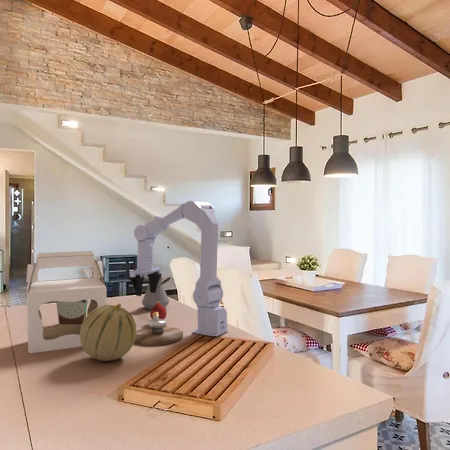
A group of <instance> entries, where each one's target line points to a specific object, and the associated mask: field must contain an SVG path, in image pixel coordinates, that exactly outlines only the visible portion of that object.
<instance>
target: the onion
mask: <svg viewBox="0 0 450 450" xmlns="http://www.w3.org/2000/svg"><path fill="white" fill-rule="evenodd" d="M160 303H161V302H160V301H158V302H157V304H156V305H154V306H153V308H152V309H151V310H150V312H149V313H150V314H149V315H150V318H151V320H153V312H159V319H165V320H166V317H167V309H166V307H164V306H163V305H161V304H160Z"/></svg>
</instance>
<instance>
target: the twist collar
mask: <svg viewBox="0 0 450 450" xmlns="http://www.w3.org/2000/svg"><path fill="white" fill-rule="evenodd" d="M167 324H168V323H167V320H166V318H165V319H159V312H153V320H152V319H149V320H148V328H164V327H168V326H167Z"/></svg>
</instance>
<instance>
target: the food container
mask: <svg viewBox="0 0 450 450" xmlns="http://www.w3.org/2000/svg"><path fill="white" fill-rule="evenodd" d="M54 303H55V304H56V312H57V319H58V320H57V321H58V326H60V325H64V324H74V325H82V323H83V321H84V319H85V318H86V317H87V310H88V304H90V299H87V300H81V301H76V302H63V301H54Z"/></svg>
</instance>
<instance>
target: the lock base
mask: <svg viewBox="0 0 450 450" xmlns="http://www.w3.org/2000/svg"><path fill="white" fill-rule="evenodd" d="M183 339H184V331H183V330H181V329H180V328H177V327H172V326H166V327H164V328H150V327H147V328H146V327H145V328H140V329H136V338H135V343H134V344H136V343H138V344H137V345H140V344H144V345H143V346H147V345H159V346H166V345H173V344H175V343H177V342H180V341H182V340H183Z"/></svg>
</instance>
